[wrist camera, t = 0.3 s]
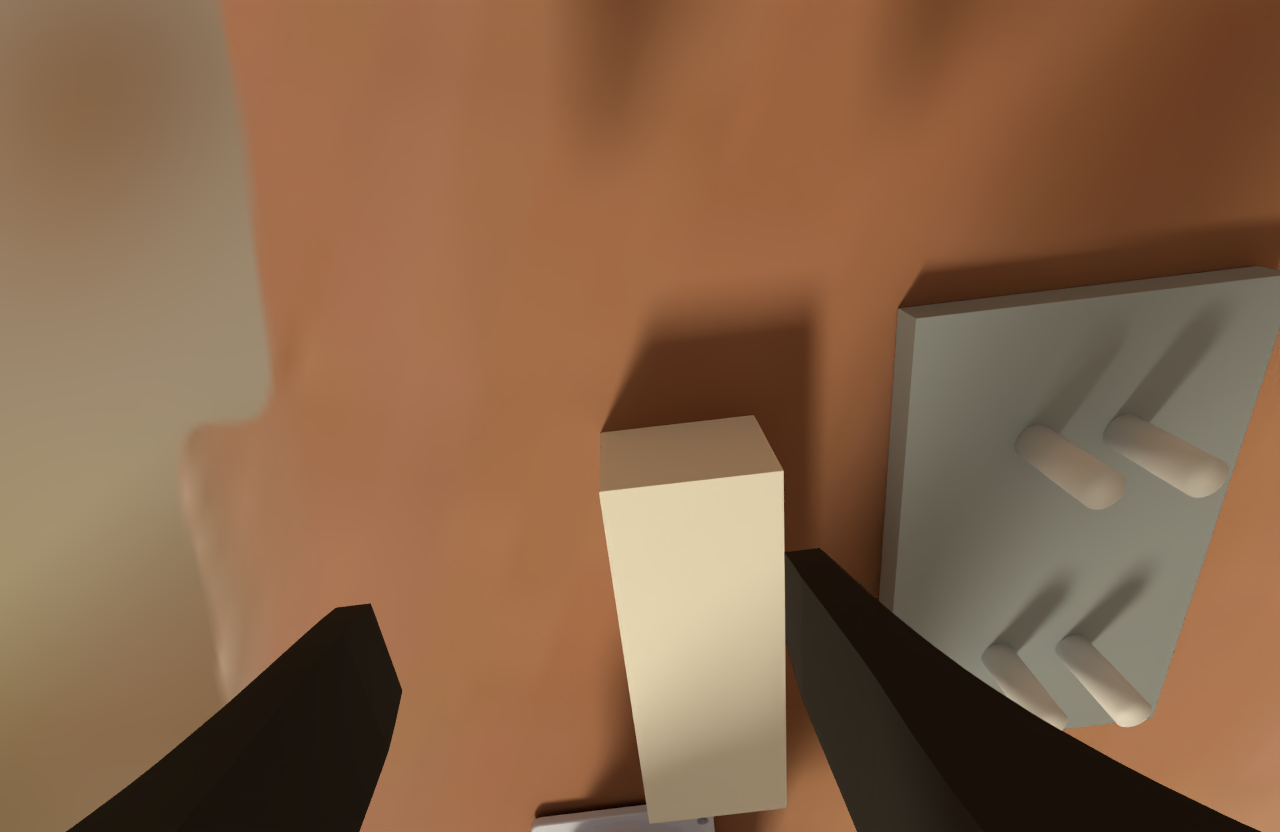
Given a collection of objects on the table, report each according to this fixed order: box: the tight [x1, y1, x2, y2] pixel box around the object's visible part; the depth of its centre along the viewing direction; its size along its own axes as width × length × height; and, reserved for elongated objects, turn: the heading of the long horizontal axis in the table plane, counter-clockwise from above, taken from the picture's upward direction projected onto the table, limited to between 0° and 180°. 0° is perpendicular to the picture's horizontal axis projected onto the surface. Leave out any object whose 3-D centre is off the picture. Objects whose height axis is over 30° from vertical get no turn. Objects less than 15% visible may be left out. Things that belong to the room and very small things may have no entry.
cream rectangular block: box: [599, 415, 787, 824], centre depth 21 cm, size 14×5×4 cm, turn 6°
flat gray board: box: [879, 266, 1280, 731], centre depth 21 cm, size 18×11×4 cm, turn 6°
